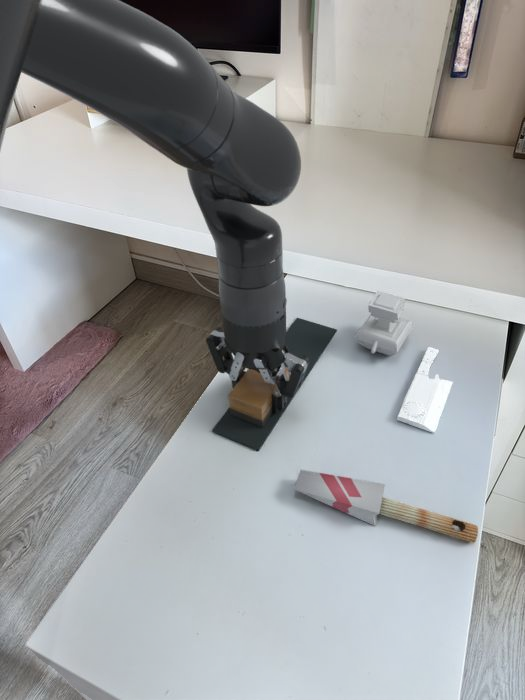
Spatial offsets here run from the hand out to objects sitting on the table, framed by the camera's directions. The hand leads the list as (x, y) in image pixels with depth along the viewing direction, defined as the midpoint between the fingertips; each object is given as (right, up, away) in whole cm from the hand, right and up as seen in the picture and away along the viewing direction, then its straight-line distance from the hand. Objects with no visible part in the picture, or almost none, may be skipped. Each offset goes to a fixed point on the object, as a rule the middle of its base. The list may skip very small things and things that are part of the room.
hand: (260, 401), depth 69 cm
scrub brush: (0, 0, 0) cm, 0 cm away
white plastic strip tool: (+24, +2, +1) cm, 24 cm away
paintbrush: (+14, -11, -12) cm, 22 cm away
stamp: (+19, +8, +9) cm, 22 cm away
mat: (+3, +3, +4) cm, 6 cm away
